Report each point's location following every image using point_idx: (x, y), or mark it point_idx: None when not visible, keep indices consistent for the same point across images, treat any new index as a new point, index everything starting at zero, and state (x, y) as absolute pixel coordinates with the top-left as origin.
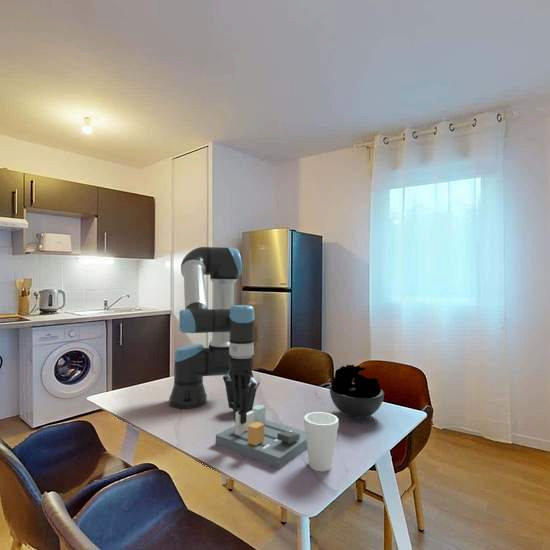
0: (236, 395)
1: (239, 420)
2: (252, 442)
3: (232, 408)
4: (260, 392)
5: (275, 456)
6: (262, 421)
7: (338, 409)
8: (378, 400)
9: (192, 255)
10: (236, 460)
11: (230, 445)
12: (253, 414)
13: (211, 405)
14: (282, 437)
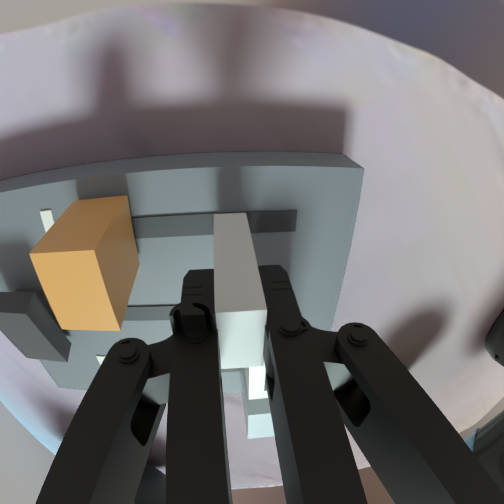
0: (299, 490)
1: (214, 273)
2: (91, 203)
3: (330, 334)
4: None
5: None
6: (241, 377)
7: (147, 469)
8: None
9: None
10: (143, 98)
11: (243, 157)
12: (247, 383)
13: (471, 344)
14: (9, 303)
